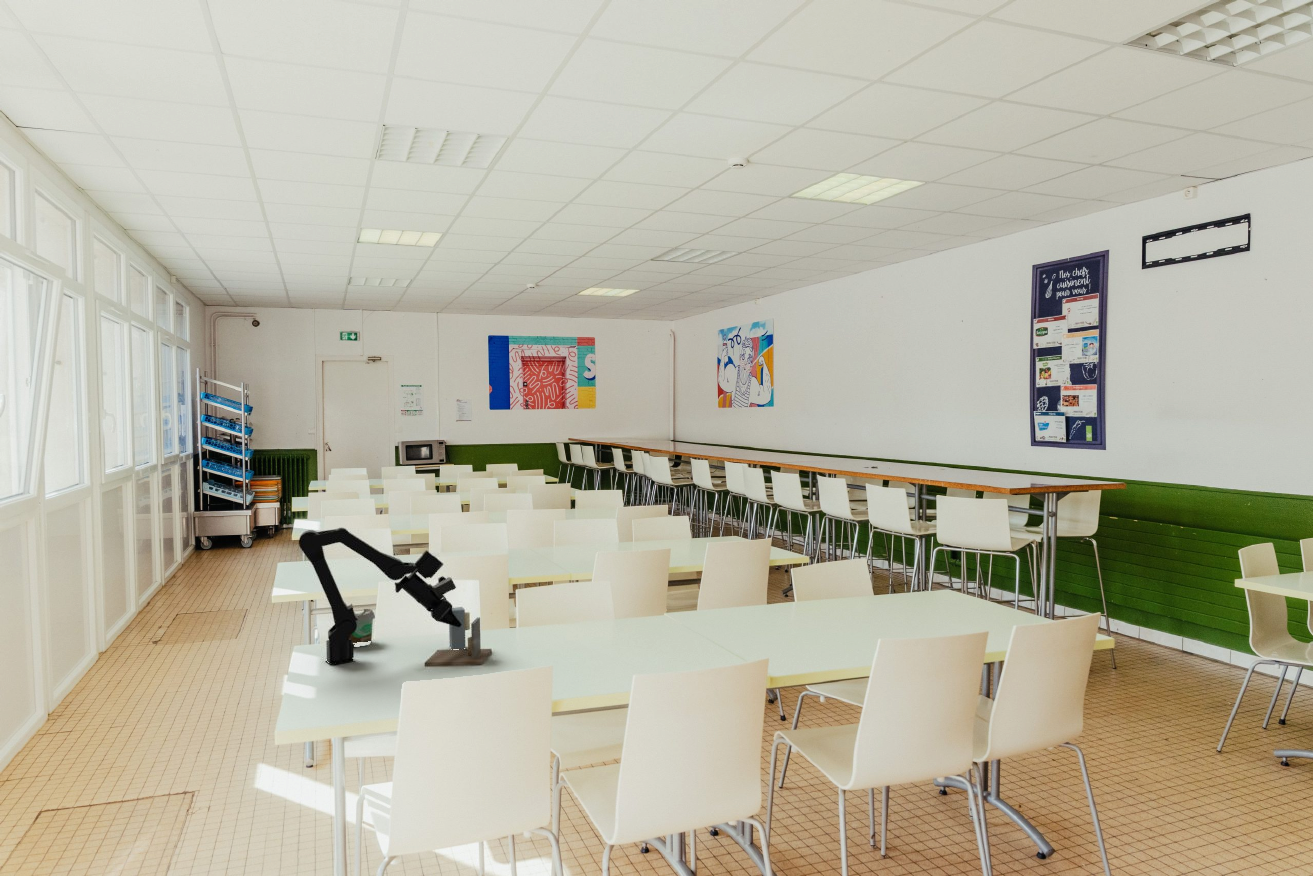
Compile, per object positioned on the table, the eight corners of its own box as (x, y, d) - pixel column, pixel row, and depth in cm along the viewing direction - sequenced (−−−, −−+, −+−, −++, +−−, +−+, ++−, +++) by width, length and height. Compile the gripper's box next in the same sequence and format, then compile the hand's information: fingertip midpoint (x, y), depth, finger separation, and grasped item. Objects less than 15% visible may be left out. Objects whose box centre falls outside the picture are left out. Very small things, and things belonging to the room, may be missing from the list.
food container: (361, 650, 250) (361, 617, 250) (343, 649, 251) (342, 616, 251) (383, 640, 262) (382, 609, 262) (365, 639, 263) (365, 608, 263)
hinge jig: (424, 666, 229) (423, 626, 230) (437, 653, 243) (437, 616, 244) (481, 664, 230) (480, 625, 230) (491, 652, 244) (490, 615, 244)
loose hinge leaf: (452, 651, 246) (451, 611, 246) (449, 647, 251) (448, 608, 251) (471, 648, 248) (470, 609, 248) (468, 645, 253) (468, 606, 253)
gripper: (443, 573, 239) (482, 607, 243) (434, 565, 256) (471, 597, 260) (415, 603, 236) (455, 637, 240) (409, 593, 253) (446, 625, 257)
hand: (458, 623), depth 249 cm, fingers open, 9 cm apart
